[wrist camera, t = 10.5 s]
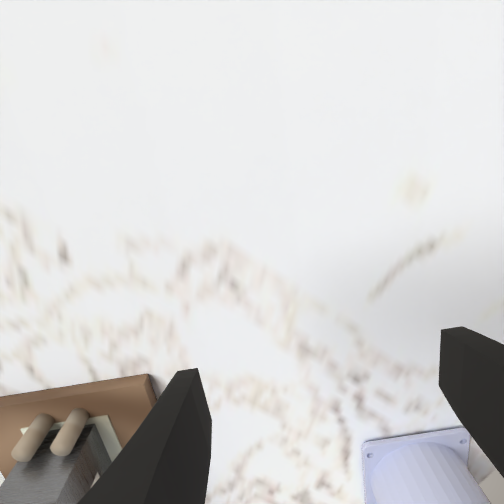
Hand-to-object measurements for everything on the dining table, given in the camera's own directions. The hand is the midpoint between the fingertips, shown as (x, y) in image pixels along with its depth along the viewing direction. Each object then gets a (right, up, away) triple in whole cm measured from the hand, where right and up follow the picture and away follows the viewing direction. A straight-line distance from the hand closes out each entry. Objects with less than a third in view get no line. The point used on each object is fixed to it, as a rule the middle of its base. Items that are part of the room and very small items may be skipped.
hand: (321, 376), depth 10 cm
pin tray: (-14, -13, +15) cm, 24 cm away
